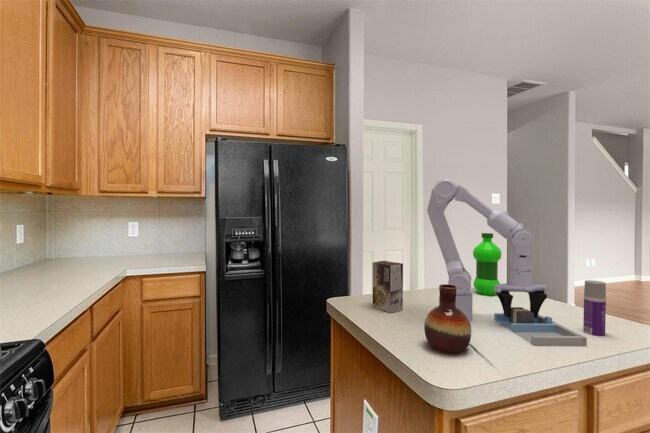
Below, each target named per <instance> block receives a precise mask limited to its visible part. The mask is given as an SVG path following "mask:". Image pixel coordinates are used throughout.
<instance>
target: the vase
mask: <svg viewBox="0 0 650 433" xmlns="http://www.w3.org/2000/svg"><path fill="white" fill-rule="evenodd" d="M438 287H439V288H438V289H439V295H440V305H439V304H438V306H435V307H434V308H432V309H430V311H429V312H428V313H427V315H426V317H425V320H424V325H423V327H424V329H423V330H424V335H425V339H426V341H427V343H428V344H429V346H430V347H431V349H433V350H435V351H437V352H440V353H443V354H449V355H451V354H452V355H455V354H457V355H458V354H460V353H463V352H465V351H466V350H467V349H468V347H469V344H470V343H471V339H472V326H471V321H470V322H469V320H468V318H467V316H466V315H465V314H464V313H463V312H462V311H461V310H460V309H458V308H456V291H457V287H456V286H454V285H448V284H440V285H438Z"/></svg>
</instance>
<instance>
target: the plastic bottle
mask: <svg viewBox="0 0 650 433" xmlns="http://www.w3.org/2000/svg"><path fill="white" fill-rule="evenodd" d="M481 238H482V242H480V243H479V244H478V245H476V246H475V247H474V248H473V250H472V255H473V258H474V259H475V260H476V262H475V263H476V265H475V266H476V267H475V268H476V269H475V270H476V271H475V272H476V273H475V274H476V275H475V278H474V280H473V288H474V289H475V290H476V291H477V292H478V293H479V294H480V295H482V296H494V294H496V291H494V284H501V283H500V281H499V279H498V275H499V274H498V273H499V270H498V266H499V265H498V264H499V261H500V260H501V258H502V250H501V249H500V248H499V246H497V244H495V243H494V242H492V239H493V238H494V233H492V232H481Z"/></svg>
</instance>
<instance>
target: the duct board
mask: <svg viewBox="0 0 650 433" xmlns="http://www.w3.org/2000/svg"><path fill="white" fill-rule="evenodd" d="M493 314H494V315H493V321H495V322H496V323H498V324H500V325H501V326H503V327H504V328H505V329H507V330H509V331H510V332H512V333H513V334H515V335H516V336H518V337H520V338H521V339H522V340H524V341H526V342H527V343H528V344H530V345H531V346H535V347H538V346H539V347H541V346H542V347H587V345H588V343H587V341H588V340H587V338H588V337H586V336H584V335H582V334H579V332H575V331H573V330H572V329H569V328H567V327H565V326H563V325H561V324H559V323H557V322H555V321H554V320H553V317H550V316H549V315H548V316H547V315H546V316H543V315H541V314H539V313H538V316H537V318H534V324H531V323H510V322H509V318H508V317H506V316H504V312H502V313H501V312H500V313H499V312H497V313H496V312H494V313H493Z"/></svg>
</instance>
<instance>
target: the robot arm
mask: <svg viewBox="0 0 650 433" xmlns="http://www.w3.org/2000/svg"><path fill="white" fill-rule="evenodd" d="M453 200H454V201H457V202H461V203H465V204H467V205H468V206H469V207H471V208H472V209H474V210H475V211H476V212H477V213H479V214H480V215H482V216H483V217H484V218H486V223H487V226H488V227H489V228H491V229H492V230H494V232H496V233H497V234H499V235H500V236H501V237H502V238H504V239H508V240H509V243H510V246H511V247H510V251H511V252H510V254H509V256H510V257H509V283H508V282H507V283H500V284H494V291H496V293H495V294H496V296H497V297H498V298H499V302H500V304H501V307H502V311H503V313H504V316H506V317H508V318H510V317H511V307H512V302H513V299H514V295H513V294H511V293H516V292H517V293H528V297H529V298H528V300H529V311H530V312H532V313H534V318H537V316H538V314H539V313H540V309H541V308H542V305H543V304H544V303H545V300H547V298H548V293H549V285H546V284H540V283H539V284H538V283H537V284H535V283H534V276H533V275H534V254H533V251H534V248H533V247H534V246H535V244H536V239H535V236H534V234H533V233H532V232H531V230H529V229H527V228H525V227H524V226H525V225H524V224H523V222H522V223H521V222H520V223H519V222H518V221H516V219H514V218H513V217H511V216H510V212H508V211H505V212H504V211H503V210H502V209H501V210H500V209H499V210H494V209H493V208H491V207H490V206H489V205H488V204H487V203H485V202H484V201H483V200H481V199H480V198H479V197H478V196H477V195H475V194H474V193H472V192H471V191H470V190H469V189H467V188H466V187H464V186H462V185H460V184H458V183H457V184H456V183H455V182H454V181H453V180H452V179H450V178H443V179H439V181H437V182H436V184H435V185H434V186H433V188H432V189H431V192H430V198H429V202H428V205H427V210H426V211H427V215H428V217H429V221H430V224H431V227H432V230H433V232H434V234H435V237H436V241H437V243H438V246H439V249H440V251H441V254H442V257H443V259H444V263H445V266H446V272H447V275H448V281H447V283H448V284H447V285H454V286H456V287H457V291H456V308H458V309H460V310H461V311H462V312H463V313H464V314H465V315H466V316H467V318H468V320H469V322H470V323H471V322H472V321H473V299H474V298H473V294H474V293H473V291H472V289H471V287H472V276H471V274H470V272H469V271H468V270H466V268H465V266H464V263H463V261H462V260H461V257H460V254H459V251H458V248H457V246H456V243H455V240H454V237H453V235H452V232H451V229H450V226H449V223H448V220H447V218H446V215H445V211H446V210H447V207H448V205H449V204H450V203H451V202H452V201H453ZM439 305H440V294H439V296H438V306H439Z"/></svg>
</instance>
